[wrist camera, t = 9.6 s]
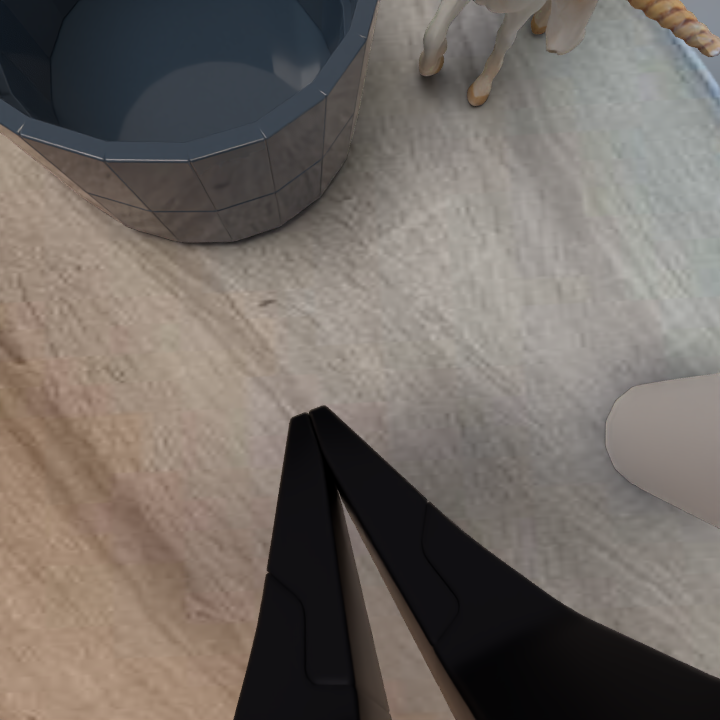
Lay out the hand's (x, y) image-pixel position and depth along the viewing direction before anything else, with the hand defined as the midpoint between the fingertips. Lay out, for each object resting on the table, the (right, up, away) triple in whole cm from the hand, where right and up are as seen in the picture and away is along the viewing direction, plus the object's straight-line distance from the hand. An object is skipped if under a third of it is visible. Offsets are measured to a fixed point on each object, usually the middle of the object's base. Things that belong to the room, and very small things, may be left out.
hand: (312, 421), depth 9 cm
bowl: (-7, +16, +12) cm, 21 cm away
